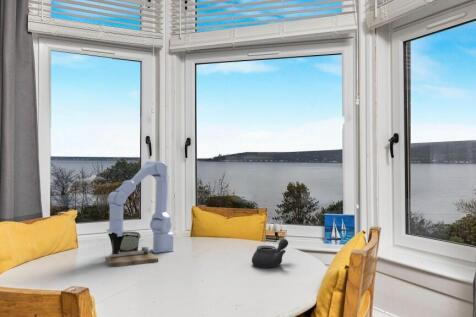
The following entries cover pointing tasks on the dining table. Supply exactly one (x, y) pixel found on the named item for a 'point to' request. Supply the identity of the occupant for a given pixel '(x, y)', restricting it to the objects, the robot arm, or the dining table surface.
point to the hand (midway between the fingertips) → (115, 250)
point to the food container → (130, 241)
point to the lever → (118, 253)
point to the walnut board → (131, 259)
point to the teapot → (269, 255)
